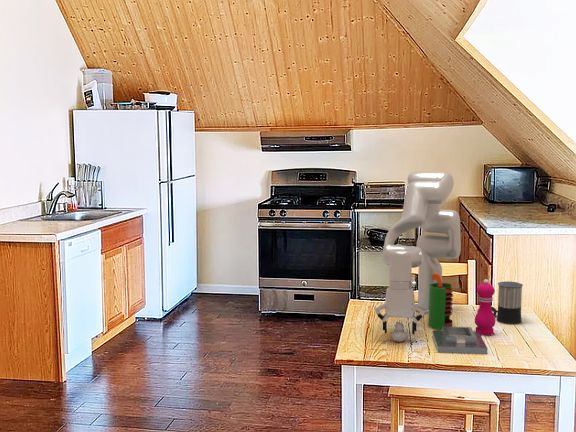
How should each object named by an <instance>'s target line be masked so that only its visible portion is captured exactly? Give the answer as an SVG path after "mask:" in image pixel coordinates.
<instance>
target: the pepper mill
mask: <svg viewBox="0 0 576 432" xmlns="http://www.w3.org/2000/svg"><path fill="white" fill-rule="evenodd" d="M489 281H490V280H488V279H486V278H485V279H484V280H483V283H480V284H479V285H478V287H477V288H476V289H477V290H476V292H477V295H478V301H479V305H478V306H479V307H478V309H479V310H478V309H477V311H478V312H476V314H475V316H474V317H475V318H474V324H475V326H476V327H475V332H479V334H480V335H481V336H483V337H485V336H486V337H487V336H489V337H490V336H493V335H494V328H493V327H495V325H496V318H495V316H494V315H493V313H494V312H493V311H492V308H491V306H492V302H493V301H494V300H493V299H494V297H493V295H495V292H496V291H495V286H494V285H492V284H491V283H489Z"/></svg>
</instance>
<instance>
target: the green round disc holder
mask: <svg viewBox="0 0 576 432" xmlns="http://www.w3.org/2000/svg"><path fill="white" fill-rule="evenodd" d="M432 280H437V281H438V283H432V284H430V291H429V313H428V322H427V326H428V328H431V329H432V330H442V326H452V327H453V323H454V322H453V320H452V319H451V316H452V315H453V312H452V311H453V307H452V306H453V305H454V304H453V300H454V298H453V297H454V294H453V292H454V289H453V288H452V283H450V282H443V279H442V280H441V276H440V275H439V274H437V273H435V274H432Z"/></svg>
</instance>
